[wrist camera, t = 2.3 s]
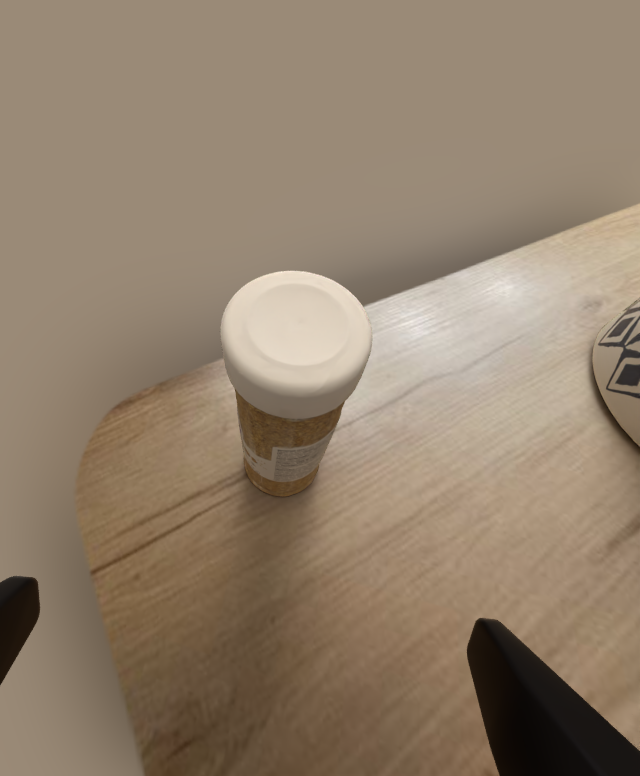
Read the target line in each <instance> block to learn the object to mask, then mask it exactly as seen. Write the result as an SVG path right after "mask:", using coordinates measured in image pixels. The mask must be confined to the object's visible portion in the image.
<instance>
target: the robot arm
mask: <svg viewBox="0 0 640 776" xmlns="http://www.w3.org/2000/svg"><path fill="white" fill-rule="evenodd" d="M39 613H40V602H39V590H38V582H37V580H36V579H35V578H33V577H22V576H13V577H10V578H8V579H6V580H4V581H2V582H0V685H1V683H2V681H3V680H4V678H5V676H6V675H7V673H8V671H9V669H10V667H11V666H12V664H13V662H14V661H15V659H16V657H17V656H18V654H19V652H20V650H21V648H22V647H23V645H24V643H25V642H26V640H27V638H28V637H29V635H30V633H31V631H32V630H33V628H34V626H35V624H36V622H37V620H38V617H39ZM467 658H468V662H469V666H470V670H471V674H472V678H473V682H474V686H475V690H476V694H477V698H478V702H479V706H480V709H481V713H482V717H483V721H484V725H485V729H486V733H487V737H488V740H489V744H490V747H491V751H492V754H493V757H494V760H495V763H496V766H497V769H498V772H499V775H500V776H640V751H639V750H638V749H637V748H636V747H635V746H633V745H632V744H631V743H630V742H629V741H628V740H627V739H626V738H625V737H624V736H623V735H622V734H621V733H619V732H618V731H617V730H616V729H615V728H614V727H613V726H612V725H611V724H610V723H609V722H608V721H607V720H605V719H604V718H603V717H602V716H601V715H600V714H599V713H598V712H597V711H596V710H595V709H594V708H593V707H591V706H590V705H589V704H588V703H587V702H586V701H585V700H584V699H583V698H582V697H581V696H580V695H579V694H577V693H576V692H575V691H574V690H573V689H572V688H571V687H570V686H569V685H568V684H567V683H566V682H565V681H563V680H562V679H561V678H560V677H559V676H558V675H557V674H556V673H555V672H554V671H553V670H552V669H550V668H549V667H548V666H547V665H546V664H545V663H544V662H543V661H542V660H541V659H540V658H539V657H538V656H536V655H535V654H534V653H533V652H532V651H531V650H530V649H529V648H528V647H527V646H526V645H525V644H524V643H522V642H521V641H520V640H519V639H518V638H517V637H516V636H515V635H514V634H513V633H512V632H511V631H510V630H508V629H507V628H506V627H505V626H504V625H503V624H502V623H501V622H499V621H498V620H495V619H486V618H479V619H478V620H477V621H476V622H475V625H474V628H473V631H472V634H471V637H470V640H469V643H468V646H467Z"/></svg>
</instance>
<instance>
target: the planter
mask: <svg viewBox="0 0 640 776" xmlns="http://www.w3.org/2000/svg"><path fill="white" fill-rule="evenodd" d="M592 358H593V370H594V374H595V379H596V382H597V385H598V387H599V390H600V392H601V395H602V397H603V399H604V401H605V403H606V405H607V406H608V408H609V410H610V412H611V413H612V415H613V416H614V417H615V419H616V420H617V422H618V423H619V424H620V426H621V427H622V428H623V429H624V431H625V432H626V433H627V434H628V435H629V436H630V437H631V438H632V440H633V441H634V442H635V443H636V444H637V445H638V446H639V447H640V298H639V299H638V300H636V301H635V302H634V303H633V304H631V305H630V306H629V307H627V308H626V309H625V310H624V311H622V312H621V313H620V314H619V315H617V316H616V317H615V318H614V319H612V320H611V321H610V322H608V323H607V324H606V325H605V326H604V327H603V328H602V330H601V331H600V332H599V334H598V336H597V338H596V341H595V343H594V348H593V355H592Z"/></svg>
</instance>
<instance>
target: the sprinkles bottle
mask: <svg viewBox="0 0 640 776" xmlns="http://www.w3.org/2000/svg"><path fill="white" fill-rule="evenodd" d="M220 333H221V344H222V351H223V357H224V362H225V367H226V370H227V374H228V377H229V379H230V381H231V383H232V385H233V386H234V388H235V391H236V399H237V411H238V420H239V427H240V433H241V440H242V446H243V452H244V465H245V470H246V472H247V475H248V477H249V479H250V480H251V481H252V483H253V484H254V485H255V486H256V487H257V488H259V489H260V490H261V491H263V492H265V493H268V494H271V495H275V496H289V495H292V494H296V493H298V492H300V491H302V490H304V489H305V488H306V487H307V486H308V485H309V484H310V483H311V482H312V481H313V479H314V477H315V475H316V473H317V471H318V467H319V463H320V461H321V460H322V457H323V455H324V453H325V451H326V449H327V446H328V444H329V442H330V439H331V437H332V435H333V432H334V430H335V428H336V425H337V423H338V420H339V418H340V415H341V410H342V407H343V405H344V402H345V400H346V399H348V397H349V396H350V395H351V394H352V393H353V391H354V390H355V388H356V386H357V384H358V382H359V380H360V378H361V376H362V373H363V371H364V369H365V366H366V363H367V361H368V358H369V356H370V352H371V347H372V328H371V324H370V321H369V318H368V316H367V313H366V311H365V310H364V308H363V306H362V305H361V304H360V302H359V301H358V300H357V298H356V297H355V296H353V294H351V293H350V292H349V291H348V290H347V289H346V288H344V287H343V286H341V285H340V284H338V283H337V282H335V281H333V280H331V279H328V278H326V277H323V276H320V275H317V274H314V273H309V272H302V271H282V272H276V273H271V274H267V275H264V276H261V277H259V278H257V279H255V280H253V281H251V282H249V283H248V284H246V285H245V286H244V287H242V288H241V289H240V290H239V291H238V292H237V293H236V294H235V295H234V296H233V297H232V299H231V300H230V302H229V303H228V305H227V307H226V309H225V311H224V314H223V317H222V321H221V328H220Z"/></svg>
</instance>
